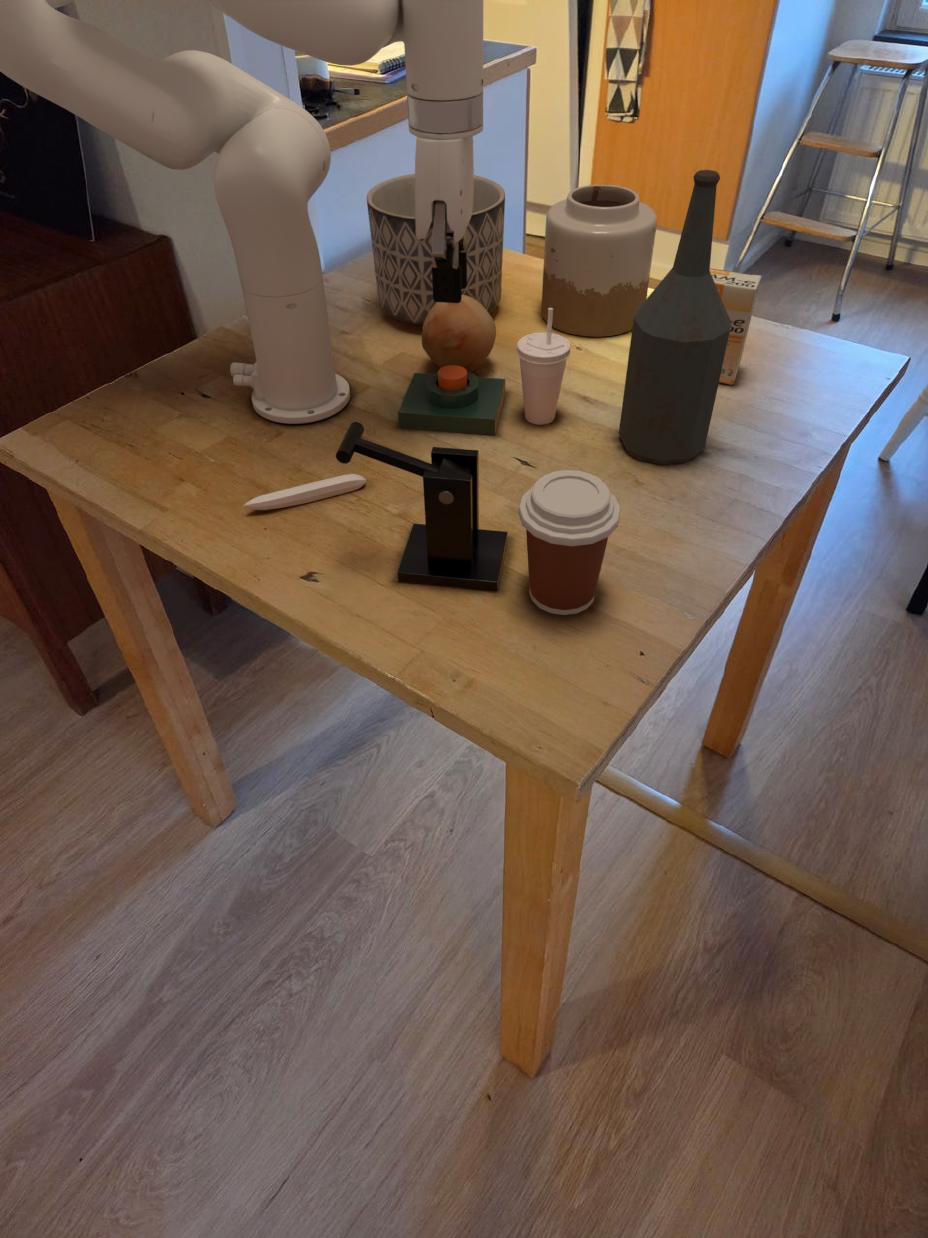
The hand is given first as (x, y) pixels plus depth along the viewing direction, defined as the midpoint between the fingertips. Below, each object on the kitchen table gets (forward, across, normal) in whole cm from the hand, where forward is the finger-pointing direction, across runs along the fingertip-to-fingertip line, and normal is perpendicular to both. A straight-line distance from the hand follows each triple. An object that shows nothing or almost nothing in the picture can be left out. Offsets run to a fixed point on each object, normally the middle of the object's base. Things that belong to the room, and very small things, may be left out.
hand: (450, 292), depth 97 cm
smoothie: (+15, 0, +11) cm, 19 cm away
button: (+12, 0, 0) cm, 12 cm away
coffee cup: (+15, +32, +16) cm, 39 cm away
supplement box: (+15, -14, +32) cm, 38 cm away
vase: (+15, -30, +16) cm, 37 cm away
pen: (+15, +21, -13) cm, 29 cm away
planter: (+15, -29, -7) cm, 34 cm away
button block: (+15, 0, 0) cm, 15 cm away
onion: (+15, -11, -1) cm, 19 cm away
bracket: (+15, +29, +5) cm, 33 cm away
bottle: (+15, +4, +26) cm, 30 cm away
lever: (+5, +29, 0) cm, 29 cm away
